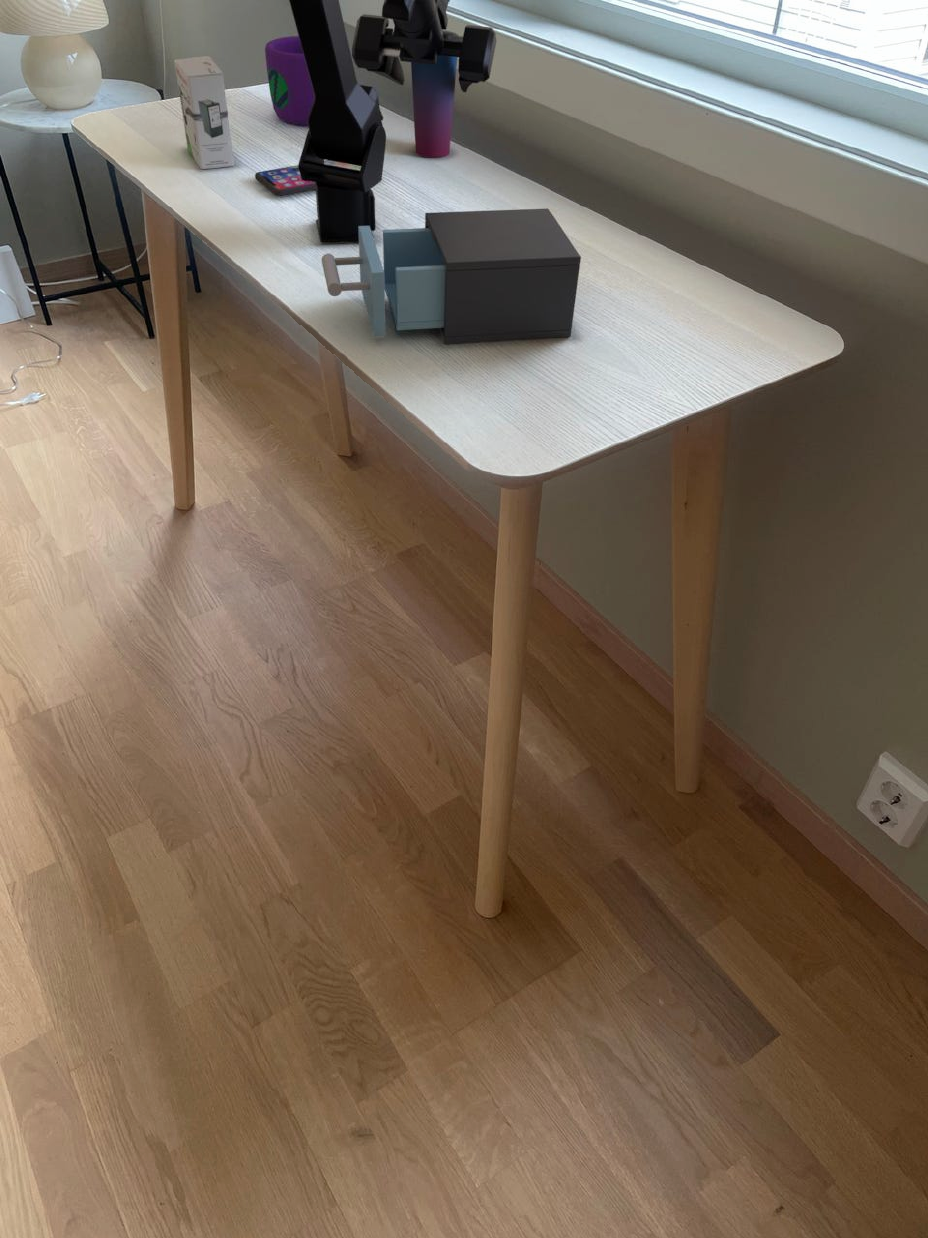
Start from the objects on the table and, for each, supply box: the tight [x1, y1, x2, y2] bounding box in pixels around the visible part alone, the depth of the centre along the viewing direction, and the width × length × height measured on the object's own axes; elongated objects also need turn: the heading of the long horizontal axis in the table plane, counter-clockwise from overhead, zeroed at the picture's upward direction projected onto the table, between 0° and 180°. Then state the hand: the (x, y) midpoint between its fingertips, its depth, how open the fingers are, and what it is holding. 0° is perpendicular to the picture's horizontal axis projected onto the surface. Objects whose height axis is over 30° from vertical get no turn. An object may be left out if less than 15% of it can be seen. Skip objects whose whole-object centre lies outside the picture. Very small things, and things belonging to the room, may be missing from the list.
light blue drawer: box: [321, 226, 446, 338], centre depth 96 cm, size 17×11×7 cm
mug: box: [264, 35, 315, 126], centre depth 141 cm, size 17×11×10 cm, turn 43°
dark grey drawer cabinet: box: [424, 208, 582, 345], centre depth 98 cm, size 14×13×9 cm
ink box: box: [173, 55, 236, 170], centre depth 127 cm, size 9×5×12 cm, turn 25°
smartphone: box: [254, 160, 361, 198], centre depth 126 cm, size 8×1×15 cm
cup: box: [410, 29, 460, 159], centre depth 131 cm, size 7×7×15 cm
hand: (433, 85), depth 131 cm, fingers open, 9 cm apart
